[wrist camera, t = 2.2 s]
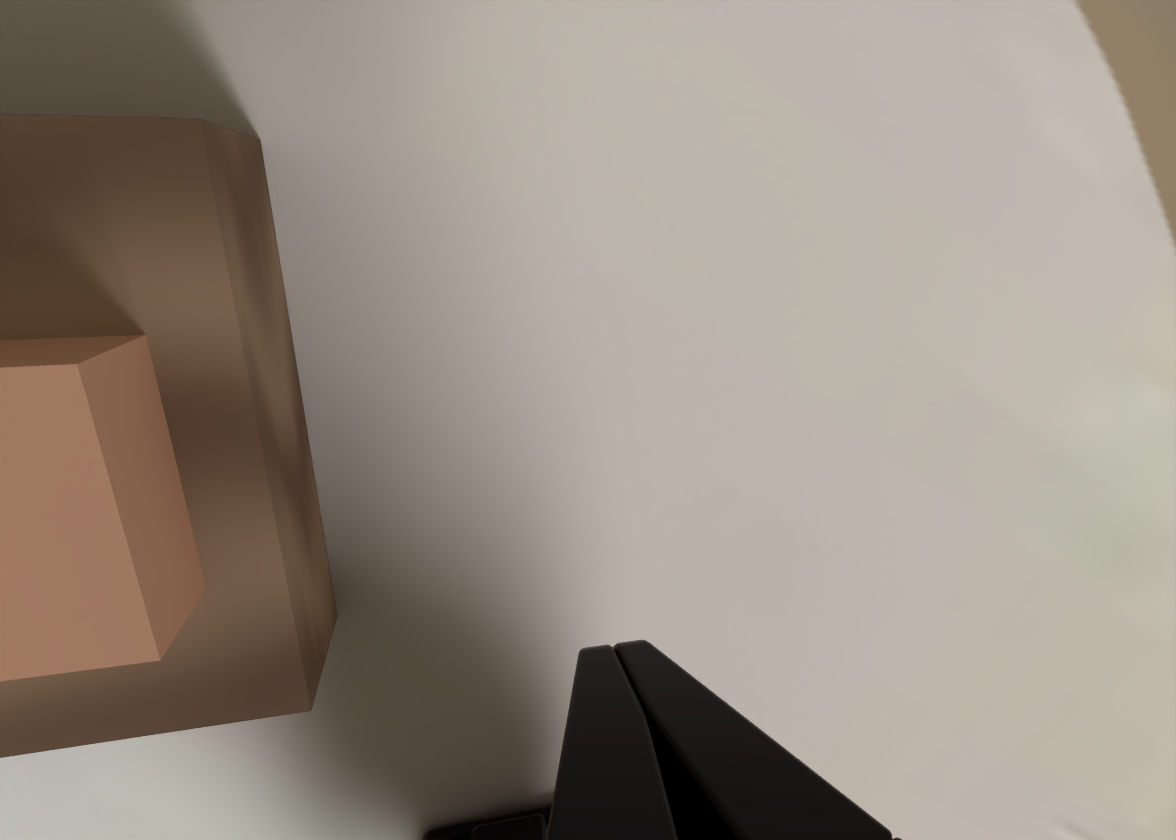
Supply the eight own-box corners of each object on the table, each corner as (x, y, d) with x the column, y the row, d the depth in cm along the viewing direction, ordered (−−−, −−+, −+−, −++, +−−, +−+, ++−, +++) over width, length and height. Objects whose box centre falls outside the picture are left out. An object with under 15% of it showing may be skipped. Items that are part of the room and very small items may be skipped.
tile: (206, 587, 15) (160, 660, 12) (-18, 613, 14) (-114, 695, 11) (145, 334, 13) (76, 363, 10) (-122, 345, 12) (-262, 379, 9)
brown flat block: (336, 616, 20) (311, 710, 16) (-112, 672, 18) (-262, 797, 14) (260, 139, 15) (200, 118, 12) (-361, 129, 13) (-685, 99, 9)
